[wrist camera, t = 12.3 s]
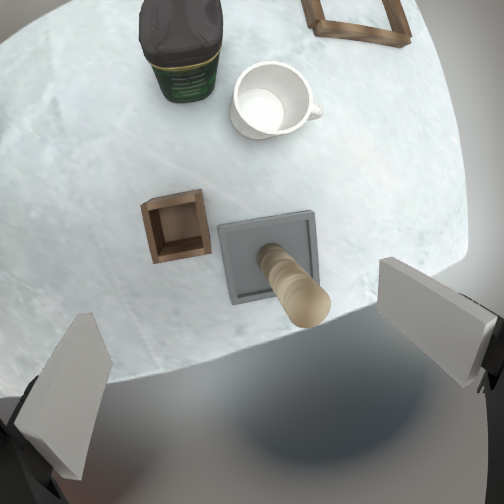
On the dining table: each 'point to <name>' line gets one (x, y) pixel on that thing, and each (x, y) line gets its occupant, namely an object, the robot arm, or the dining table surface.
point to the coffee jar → (182, 45)
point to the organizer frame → (359, 32)
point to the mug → (271, 101)
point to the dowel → (293, 287)
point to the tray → (253, 238)
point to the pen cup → (176, 226)
